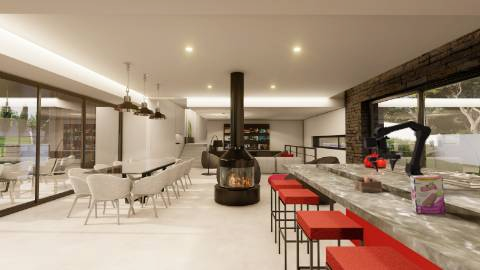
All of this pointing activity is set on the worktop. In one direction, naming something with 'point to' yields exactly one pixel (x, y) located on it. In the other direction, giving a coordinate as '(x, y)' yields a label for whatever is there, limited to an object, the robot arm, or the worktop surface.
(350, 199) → the worktop surface
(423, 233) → the worktop surface
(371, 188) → the bored tray
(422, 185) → the candy bar box
